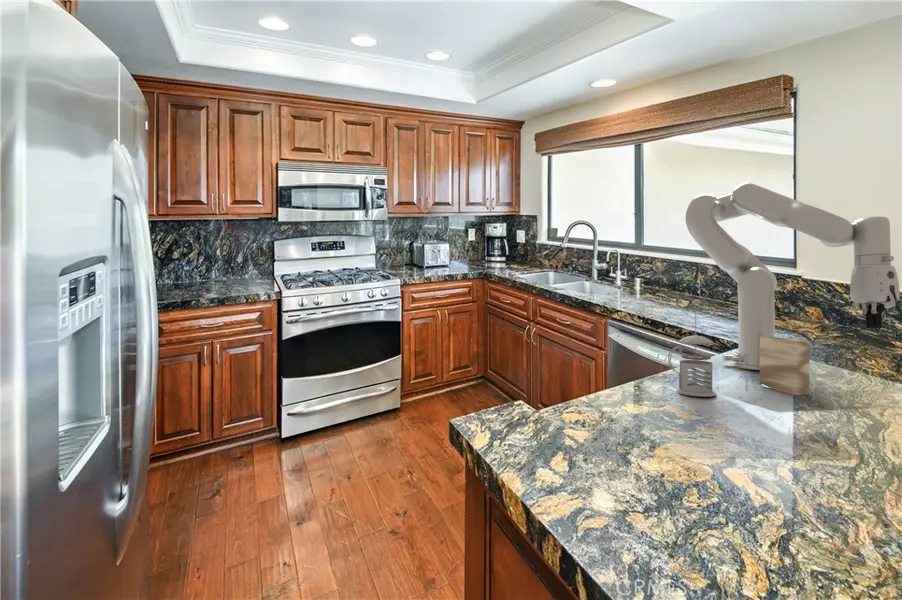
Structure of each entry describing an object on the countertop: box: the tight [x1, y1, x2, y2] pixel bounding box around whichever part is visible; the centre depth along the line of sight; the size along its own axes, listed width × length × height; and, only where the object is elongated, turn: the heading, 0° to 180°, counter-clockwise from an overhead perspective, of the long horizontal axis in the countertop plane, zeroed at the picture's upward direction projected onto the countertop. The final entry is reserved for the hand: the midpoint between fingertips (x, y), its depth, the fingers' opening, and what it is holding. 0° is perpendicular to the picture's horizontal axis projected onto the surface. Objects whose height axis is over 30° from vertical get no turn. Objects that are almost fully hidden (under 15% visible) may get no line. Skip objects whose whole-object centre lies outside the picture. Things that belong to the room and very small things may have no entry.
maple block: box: [759, 336, 811, 396], centre depth 125 cm, size 4×12×14 cm, turn 6°
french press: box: [667, 298, 718, 397], centre depth 123 cm, size 10×12×25 cm
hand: (873, 327), depth 128 cm, fingers closed
